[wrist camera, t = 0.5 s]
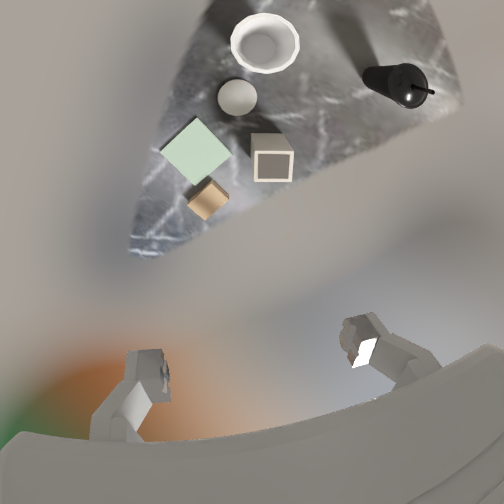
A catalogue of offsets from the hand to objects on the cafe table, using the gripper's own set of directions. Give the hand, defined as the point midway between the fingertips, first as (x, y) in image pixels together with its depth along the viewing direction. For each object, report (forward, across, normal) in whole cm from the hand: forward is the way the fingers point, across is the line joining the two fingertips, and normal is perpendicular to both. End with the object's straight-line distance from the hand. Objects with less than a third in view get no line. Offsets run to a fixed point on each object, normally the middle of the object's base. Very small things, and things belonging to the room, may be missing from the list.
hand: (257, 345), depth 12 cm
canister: (+46, -12, 0) cm, 48 cm away
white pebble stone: (+46, -7, -10) cm, 48 cm away
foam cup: (+45, -11, -19) cm, 50 cm away
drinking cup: (+42, -33, -15) cm, 55 cm away
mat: (+48, +1, +1) cm, 49 cm away
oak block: (+50, -1, +11) cm, 51 cm away
